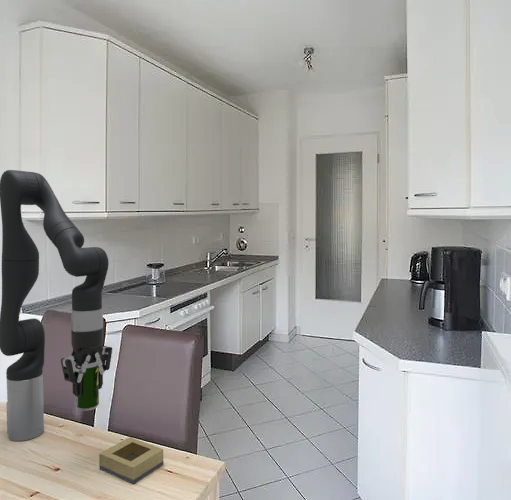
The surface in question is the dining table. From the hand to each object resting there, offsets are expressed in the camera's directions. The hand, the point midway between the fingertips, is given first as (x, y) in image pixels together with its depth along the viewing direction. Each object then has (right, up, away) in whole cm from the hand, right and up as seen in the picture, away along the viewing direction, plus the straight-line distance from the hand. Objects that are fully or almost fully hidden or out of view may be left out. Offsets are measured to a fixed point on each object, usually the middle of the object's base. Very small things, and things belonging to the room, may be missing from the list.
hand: (88, 391), depth 112 cm
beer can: (0, -4, 0) cm, 4 cm away
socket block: (+11, -18, -1) cm, 22 cm away
